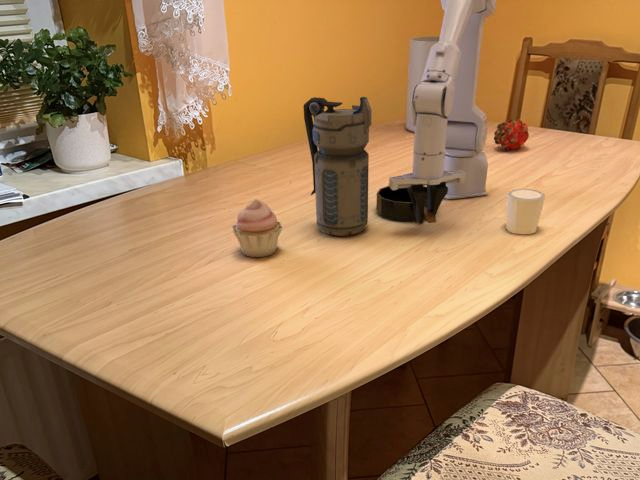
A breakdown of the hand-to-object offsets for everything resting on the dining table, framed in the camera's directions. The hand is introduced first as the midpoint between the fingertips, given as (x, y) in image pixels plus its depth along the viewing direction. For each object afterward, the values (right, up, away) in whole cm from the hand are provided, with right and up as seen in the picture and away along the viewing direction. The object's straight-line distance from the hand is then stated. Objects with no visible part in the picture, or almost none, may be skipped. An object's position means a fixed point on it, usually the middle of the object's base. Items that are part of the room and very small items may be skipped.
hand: (424, 221), depth 124 cm
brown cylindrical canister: (-17, -1, +3) cm, 17 cm away
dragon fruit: (+32, +30, +49) cm, 66 cm away
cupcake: (-32, -7, -6) cm, 33 cm away
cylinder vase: (+12, +43, +71) cm, 84 cm away
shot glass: (+19, -2, 0) cm, 19 cm away
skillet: (-1, +2, +6) cm, 7 cm away
